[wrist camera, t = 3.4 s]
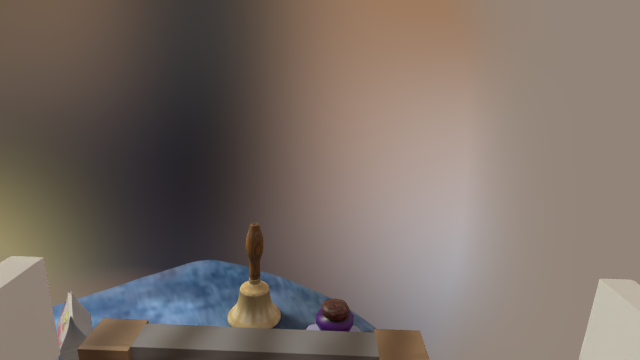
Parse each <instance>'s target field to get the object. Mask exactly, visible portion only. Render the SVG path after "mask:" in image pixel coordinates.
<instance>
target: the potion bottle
mask: <svg viewBox="0 0 640 360" xmlns="http://www.w3.org/2000/svg"><path fill="white" fill-rule="evenodd" d="M353 321H354V315H353V314H352V313H351V312H350V310H349V307H348V306H347V304H346V302H345V301H343V300H339V299H329V300H326V301H324V302H323V304H322V308H321V309H320V310H319V312H318V313H317V315H316V324H313V325H309V326H308V328H307V329H306V330H320V331H345V332H361V331H360V330H359V329H358V327H356V326H353Z"/></svg>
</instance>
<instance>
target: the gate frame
mask: <svg viewBox="0 0 640 360" xmlns="http://www.w3.org/2000/svg"><path fill="white" fill-rule="evenodd" d="M77 350H78V356H79V360H429V357H428V354H427V351H426V348H425V345H424V342H423V339H422V336H421V333H420V331H411V330H410V331H409V330H386V329H374V333H371V332H345V331H320V330H295V329H269V328H244V327H219V326H193V325H168V324H149V322H148V320H133V319H107V318H103V319H102V320H101V322H100V323H99V324H98V325H97V326H96V328H95V329H94V330H93V331H92V332H91V333H90V335H89V336H88V337H87V338H86V339H85V341H84V342H83V343H82V344H81V345H80V346H79V348H78V349H77Z"/></svg>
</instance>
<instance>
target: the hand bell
mask: <svg viewBox="0 0 640 360" xmlns="http://www.w3.org/2000/svg"><path fill="white" fill-rule="evenodd" d="M246 251H247V256H248V258H249V263H250V268H249V281H247V282H245V283H243V284H242V286H241V287H240V293H239V299H238V302H237V304H236V305H235V306H234V307H233V308H232V309H231V311H230V312H229V314H228V322H229V324H230V326H231V327H244V328H269V329H272V328H273V327H275V326H276V325H277V324H278V323H279V321H280V319H281V313H280V310H279V309H278V307H277V306H276V305H275V304H273V303H272V301H271V297H270V292H269V286H268V285H267V283H265V282H263V281H260V259H261V256H262V252H263V236H262V233H261V230H260V227H259V224H258V223H256V222H254V223H251V224H250V228H249V231H248V234H247V237H246Z"/></svg>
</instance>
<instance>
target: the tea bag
mask: <svg viewBox="0 0 640 360" xmlns="http://www.w3.org/2000/svg"><path fill="white" fill-rule="evenodd" d="M92 331H93V327H92V320H91V314H90V313H89V312H88V311H87V310H86V309H85V308H84V307H83V306H82V305H81V304H80V303H79V302H78V300H77V299H76V298H75V297H74V295H73V293H72V292H71V293H70V294H69V292H68V297H67V301H66V304H65V307H64V309H63V312H62V314H61V317H60V319H59V322H58V343H59V349H60V356H59V360H79V356H78V350H77V349H78V348H79V346H80V345H81V344H82V343H83V342H84V341H85V339H86V338H87V337H88V336H89V335H90V333H91V332H92Z"/></svg>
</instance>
